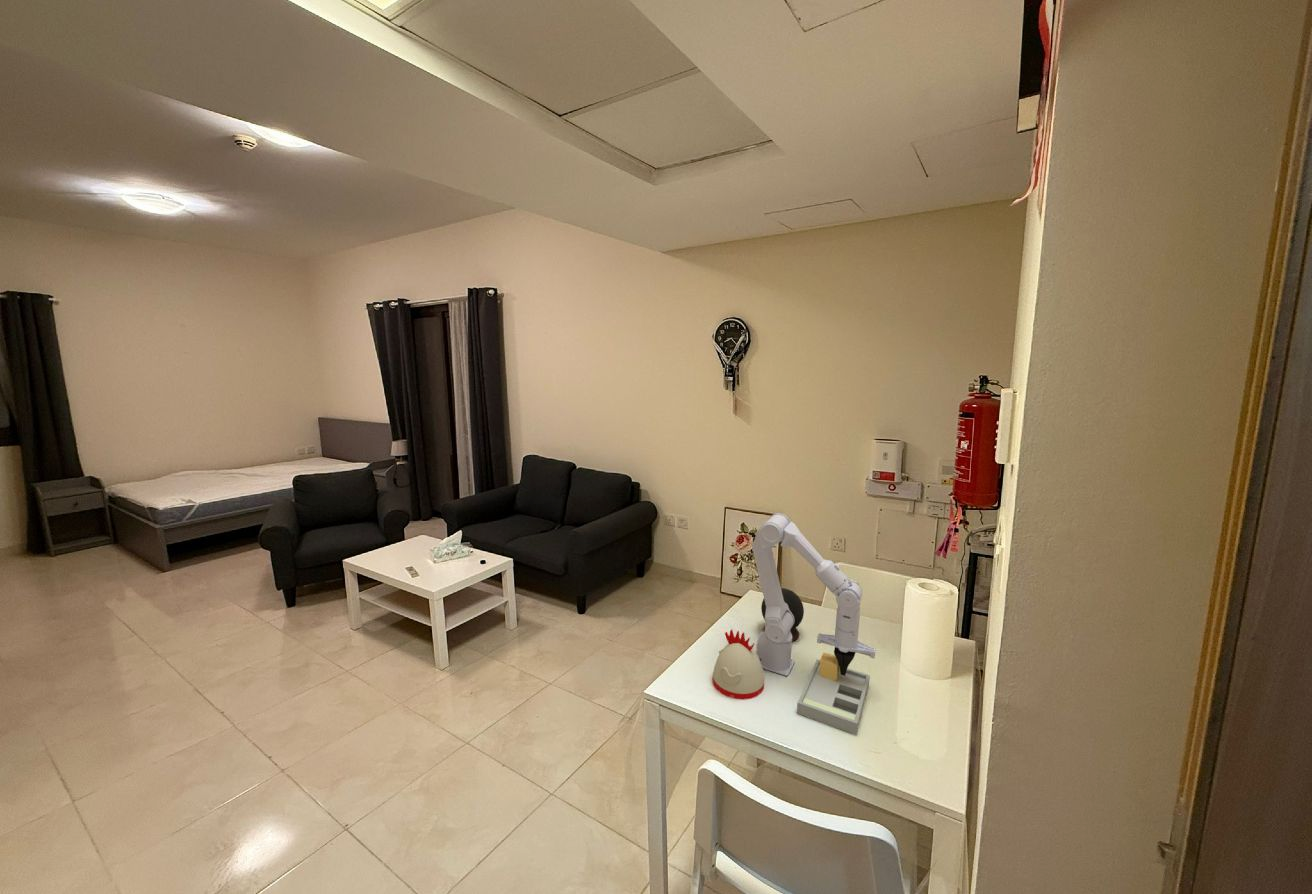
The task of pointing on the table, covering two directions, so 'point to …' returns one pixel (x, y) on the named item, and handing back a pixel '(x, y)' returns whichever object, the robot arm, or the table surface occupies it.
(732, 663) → the kitchen timer
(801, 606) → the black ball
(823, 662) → the block
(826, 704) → the box
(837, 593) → the robot arm
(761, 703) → the table surface
